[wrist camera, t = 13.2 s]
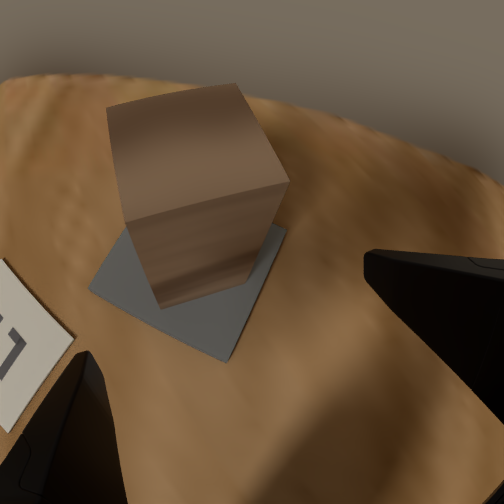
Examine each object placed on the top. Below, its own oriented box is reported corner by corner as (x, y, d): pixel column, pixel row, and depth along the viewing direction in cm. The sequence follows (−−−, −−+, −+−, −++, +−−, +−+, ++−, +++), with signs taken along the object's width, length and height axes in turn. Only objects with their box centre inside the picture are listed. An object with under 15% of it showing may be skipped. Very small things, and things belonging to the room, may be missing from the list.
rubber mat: (284, 233, 24) (286, 229, 23) (226, 363, 19) (227, 362, 19) (163, 178, 24) (163, 174, 23) (90, 290, 19) (87, 288, 19)
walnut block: (245, 283, 21) (290, 180, 11) (160, 309, 19) (125, 222, 9) (216, 210, 23) (235, 83, 13) (139, 231, 21) (106, 108, 11)
